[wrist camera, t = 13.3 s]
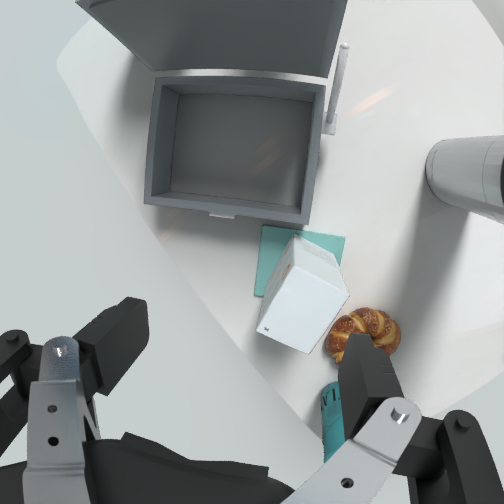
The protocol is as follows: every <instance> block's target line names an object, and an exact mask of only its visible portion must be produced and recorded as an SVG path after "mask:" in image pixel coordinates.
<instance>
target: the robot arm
mask: <svg viewBox="0 0 504 504" xmlns="http://www.w3.org/2000/svg"><path fill="white" fill-rule="evenodd" d="M426 176H427V180H428V184H429V186H430V188H431V190H432V192H433V193H434V194H435V196H436V197H438V198H439V199H440V200H441V201H443V202H445V203H448V204H451V205H454V206H457V207H459V208H462V209H465V210H468V211H470V212H473V213H476V214H479V215H481V216H484V217H487V218H489V219H492V220H494V221H497V222H499V223H502V224H504V135H502V136H484V137H470V138H457V139H447V140H442V141H440V142H438V143H437V144H436V145H435V146H434V147H433V148H432V150H431V151H430V153H429V155H428V158H427V162H426ZM148 340H149V325H148V312H147V303H146V301H145V300H141V299H137V298H132V297H126V298H125V299H124V300H123V301H122V302H120V303H119V304H118V305H117V306H116V305H115V306H113V307H110V308H108V309H105V310H104V311H103V312H101V313H100V314H99V315H98V316H97V317H96V318H94V319H93V320H92V321H91V322H89V323H88V324H87V325H86V326H85V327H84V328H82V329H81V330H80V331H79V332H78V333H77V334H75V335H74V336H73V337H72V338H71V337H66V336H60V337H55V338H52V339H50V340H49V341H47V342H46V343H45V344H44V346H41V345H35V344H30V341H29V338H28V335H27V333H26V332H25V331H22V330H10V331H7V332H5V333H4V334H2V335H1V336H0V383H1V382H2V381H3V380H4V379H5V378H6V377H7V376H8V375H9V374H10V376H11V378H12V380H13V382H14V386H13V387H12V388H11V389H10V390H9V391H8V392H7V393H6V394H5V395H4V396H3V397H2V398H1V399H0V457H1V455H2V454H3V453H4V451H5V450H6V449H7V448H8V446H9V445H10V444H11V442H12V441H13V440H14V438H15V437H16V436H17V435H18V433H19V432H20V431H21V430H22V428H23V427H24V426H25V425H26V423H27V422H28V426H27V461H23V462H19V463H15V464H11V465H6V466H2V467H0V504H369V503H370V502H371V501H372V500H373V498H374V497H375V496H376V494H377V493H378V491H379V490H380V489H381V487H382V486H383V485H384V483H385V482H386V480H387V479H388V477H389V476H390V474H391V473H393V474H398V475H403V476H407V479H408V486H409V494H410V503H411V504H504V491H503V487H502V484H501V481H500V478H499V475H498V472H497V469H496V466H495V463H494V461H493V458H492V455H491V453H490V450H489V447H488V445H487V442H486V440H485V437H484V435H483V433H482V430H481V428H480V425H479V423H478V421H477V420H476V418H475V417H474V416H472V415H471V414H470V413H468V412H466V411H463V410H453V411H450V412H449V413H448V414H447V415H446V416H445V418H444V419H443V420H438V419H433V418H428V417H424V416H422V415H421V411H420V409H419V408H418V406H417V405H416V404H415V403H413V402H412V401H410V400H408V399H405V398H404V395H403V393H402V390H401V387H400V384H399V382H398V379H397V376H396V374H395V371H394V368H393V367H392V363H391V360H390V358H389V356H388V355H387V354H386V353H385V352H384V351H383V350H382V349H381V348H375V347H374V344H373V341H372V338H371V336H370V334H360V333H350V334H349V337H348V340H347V343H346V347H345V350H344V353H343V357H342V360H341V363H340V366H339V372H338V383H339V391H340V399H341V408H342V417H343V426H344V437H345V443H344V444H343V445H342V446H341V447H340V448H339V449H338V450H337V451H336V453H335V454H334V455H333V456H332V457H331V458H330V459H329V460H328V461H327V462H326V463H325V464H324V465H323V466H322V467H321V468H320V469H319V470H318V471H317V472H316V473H315V474H313V475H312V476H311V478H309V479H308V480H307V481H306V482H305V483H304V484H303V485H301V486H300V487H299V488H298V489H297V490H296V491H295V490H294V489H292V488H291V487H289V486H288V485H286V484H284V483H282V482H280V481H278V480H276V479H273V478H270V477H268V470H269V467H265V466H258V465H251V464H245V463H239V462H234V461H195V460H189V459H187V458H185V457H183V456H181V455H179V454H177V453H175V452H174V451H172V450H170V449H168V448H166V447H164V446H163V445H161V444H159V443H157V442H154V441H151V440H148V439H145V438H142V437H139V436H136V435H133V434H131V433H128V432H125V433H124V435H123V437H122V438H121V440H118V439H101V436H100V431H99V426H98V420H97V414H96V408H95V401H94V398H93V395H94V394H95V393H96V392H98V393H100V394H103V395H105V396H108V395H109V393H110V392H111V391H112V389H113V388H114V387H115V386H116V384H117V383H118V382H119V381H120V379H121V378H122V377H123V375H124V374H125V373H126V371H127V370H128V369H129V368H130V366H131V365H132V364H133V362H134V361H135V360H136V359H137V357H138V356H139V355H140V354H141V352H142V351H143V350H144V349H145V347H146V346H147V343H148Z"/></svg>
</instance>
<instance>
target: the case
mask: <svg viewBox="0 0 504 504" xmlns="http://www.w3.org/2000/svg"><path fill="white" fill-rule="evenodd" d="M348 51H349V45H348V44H347V43H342V44H341V45H340V50H339V55H338V60H337V66H336V71H335V76H334V81H333V86H332V91H331V96H330V101H329V106H328V111H327V112H324V101H325V91H326V86H325V85H319V84H312V83H305V82H297V81H289V80H279V79H268V78H255V77H236V76H178V77H160V78H156V80H155V87H154V93H153V101H152V108H151V117H150V125H149V135H148V145H147V157H146V171H145V188H144V204H148V205H158V206H167V207H176V208H185V209H193V210H201V211H210V213H209V216H216V217H224V218H231V219H235V218H236V217H237V215H241V216H248V217H256V218H263V219H270V220H277V221H284V222H291V223H298V224H304V225H309V219H310V212H311V206H312V199H313V192H314V185H315V177H316V170H317V162H318V154H319V146H320V138H321V133H322V134H328V135H334V134H335V130H336V120H337V114H335V110H336V105H337V101H338V97H339V92H340V88H341V84H342V79H343V75H344V70H345V65H346V61H347V56H348ZM179 94H232V95H249V96H262V97H273V98H282V99H291V100H299V101H306V102H313V109H312V118H311V127H310V136H309V144H308V153H307V161H306V169H305V176H304V184H303V191H302V198H301V205H300V207H294V206H287V205H280V204H272V203H265V202H258V201H250V200H242V199H234V198H225V197H217V196H208V195H199V194H189V193H179V192H170V180H171V166H172V155H173V144H174V134H175V125H176V116H177V108H178V100H179Z"/></svg>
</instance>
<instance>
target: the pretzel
mask: <svg viewBox="0 0 504 504" xmlns="http://www.w3.org/2000/svg"><path fill="white" fill-rule="evenodd" d="M400 332H401V331H400V328H399V327H398V325H397V324H396V323H395V321H393V320H391V318H390V317H389V316H388V314H386V313H385V312H382V311H374V310H373V309H370V308H360V309H357V310H355V311H353V312H352V313H350V314H349V315H345V316H342V317H341V318H339V319H338V320H337V321H336V322H335V323H334V325H333V327H332V329H331V331H330V333H329V334H328V336H327V339H326V350H327V352H328V353H329V354H330V355H331V356H332V357H334V358H335V359H336V364H337V365H338V367H339V366H340V363H341V360H342V357H343V353H344V350H345V347H346V343H347V340H348V337H349V334H350V333H360V334H366V333H367V334H370V336H371V338H372V341H373V344H374V347H375V348H381V349H382V350H383V351H384V352H385V353H386V354H387V355H388V356H389V355H391V354H392V353H393V352H394V351H395V350H396V349H397V347H398V346H399V343H400V339H401V333H400Z"/></svg>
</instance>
